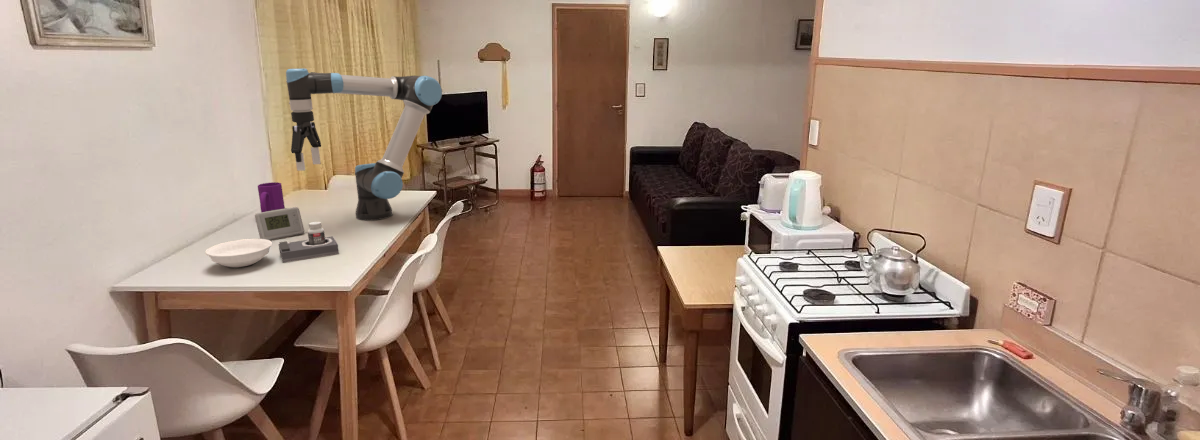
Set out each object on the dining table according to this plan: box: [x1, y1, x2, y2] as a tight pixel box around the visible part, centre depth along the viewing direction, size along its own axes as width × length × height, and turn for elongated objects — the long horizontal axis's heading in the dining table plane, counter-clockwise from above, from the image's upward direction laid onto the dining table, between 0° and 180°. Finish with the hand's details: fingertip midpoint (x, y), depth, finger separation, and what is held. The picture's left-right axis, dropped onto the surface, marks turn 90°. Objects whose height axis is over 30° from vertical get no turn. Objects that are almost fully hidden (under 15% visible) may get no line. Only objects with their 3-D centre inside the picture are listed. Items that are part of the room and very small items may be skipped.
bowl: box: [204, 238, 273, 268], centre depth 215 cm, size 20×20×6 cm
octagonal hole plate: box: [278, 236, 340, 263], centre depth 226 cm, size 18×12×4 cm, turn 120°
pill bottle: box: [307, 221, 326, 246], centre depth 226 cm, size 5×5×10 cm
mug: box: [257, 182, 286, 213], centre depth 271 cm, size 9×16×15 cm, turn 8°
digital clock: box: [254, 206, 305, 241], centre depth 247 cm, size 16×9×11 cm, turn 120°
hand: (309, 167), depth 243 cm, fingers open, 13 cm apart
